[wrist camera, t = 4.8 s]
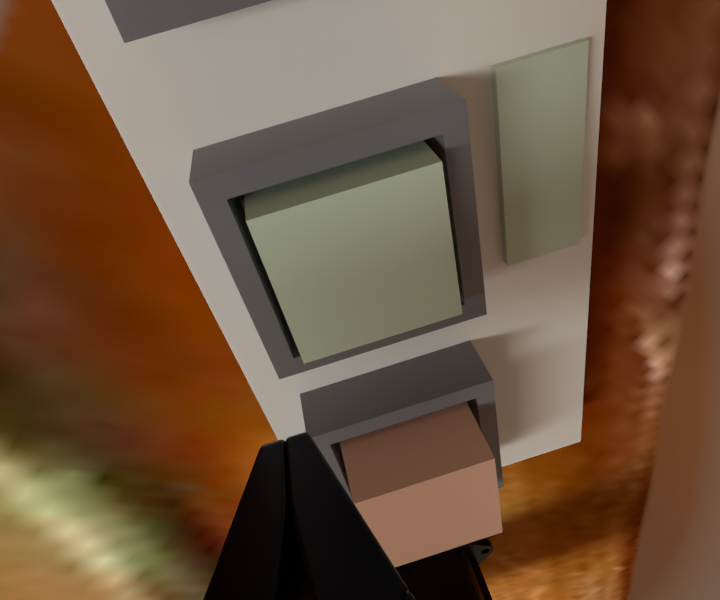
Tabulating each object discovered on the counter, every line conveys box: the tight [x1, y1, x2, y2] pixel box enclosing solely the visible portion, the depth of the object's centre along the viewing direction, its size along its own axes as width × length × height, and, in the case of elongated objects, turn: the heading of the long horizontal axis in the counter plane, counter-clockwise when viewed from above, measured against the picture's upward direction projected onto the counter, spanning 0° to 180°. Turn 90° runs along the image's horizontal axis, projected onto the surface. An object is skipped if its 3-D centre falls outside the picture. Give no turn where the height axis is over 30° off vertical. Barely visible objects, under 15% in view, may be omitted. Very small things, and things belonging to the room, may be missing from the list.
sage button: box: [244, 140, 462, 364], centre depth 14 cm, size 4×4×2 cm
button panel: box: [51, 0, 607, 501], centre depth 15 cm, size 28×12×4 cm, turn 13°
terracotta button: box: [340, 402, 503, 567], centre depth 18 cm, size 4×4×2 cm
